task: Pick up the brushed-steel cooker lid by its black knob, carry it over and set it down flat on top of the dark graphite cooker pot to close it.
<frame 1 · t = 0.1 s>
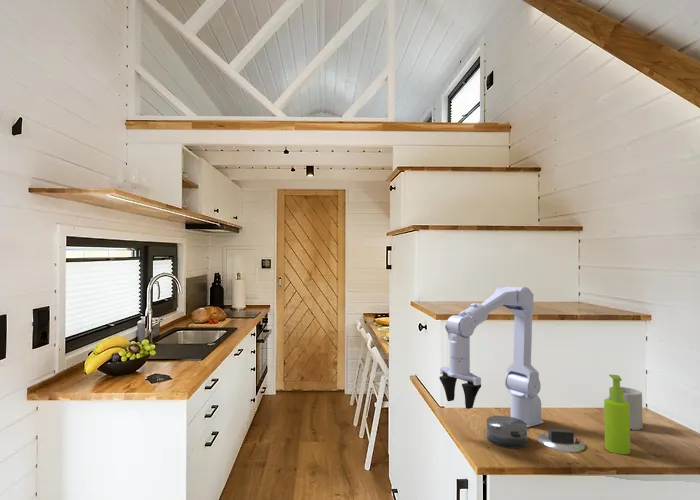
hand: (459, 404, 123), 10 cm above the table, tool pointing down, fingers open, 7 cm apart
soap dispenser: (616, 449, 117), on the table
cooker lid: (561, 444, 121), on the table
mug: (621, 426, 135), on the table
cooker pot: (506, 439, 123), on the table
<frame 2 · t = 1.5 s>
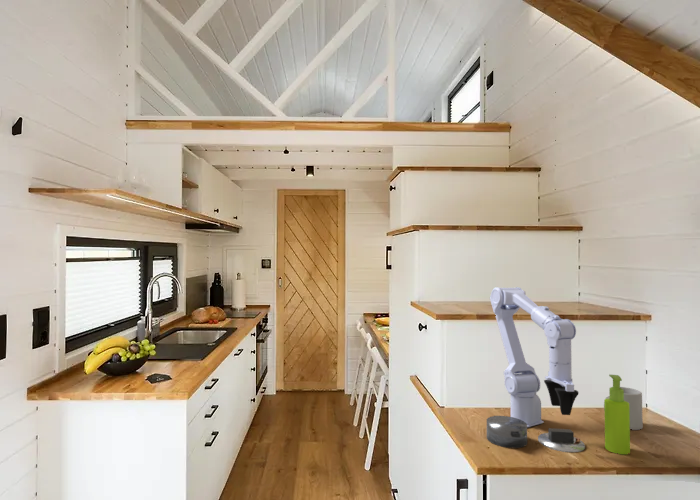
hand: (560, 410, 121), 9 cm above the table, tool pointing down, fingers open, 7 cm apart
nothing on the table moved.
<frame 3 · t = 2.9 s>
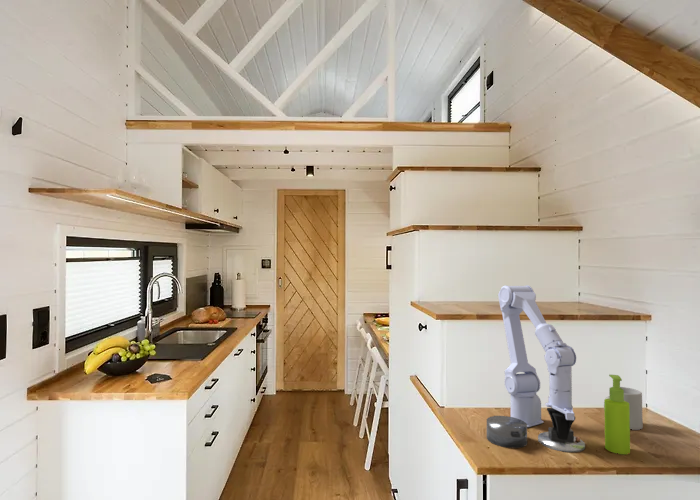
hand: (560, 436, 121), 2 cm above the table, tool pointing down, fingers closed on cooker lid, 2 cm apart
cooker lid: (561, 443, 121), on the table, touching gripper
everything else where it was.
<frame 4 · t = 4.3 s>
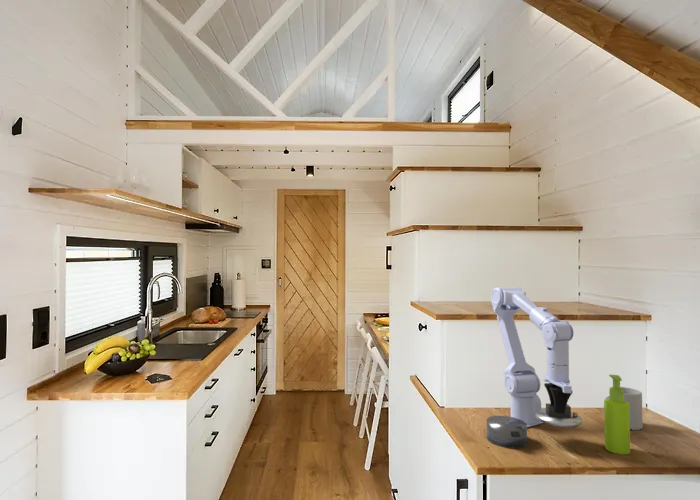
hand: (558, 411, 121), 9 cm above the table, tool pointing down, fingers closed on cooker lid, 2 cm apart
cooker lid: (558, 419, 121), point 7 cm above the table, touching gripper
everything else where it was.
when the fingers open (8 cm above the table, at t = 5.9 s): cooker lid stays where it is, resting on cooker pot.
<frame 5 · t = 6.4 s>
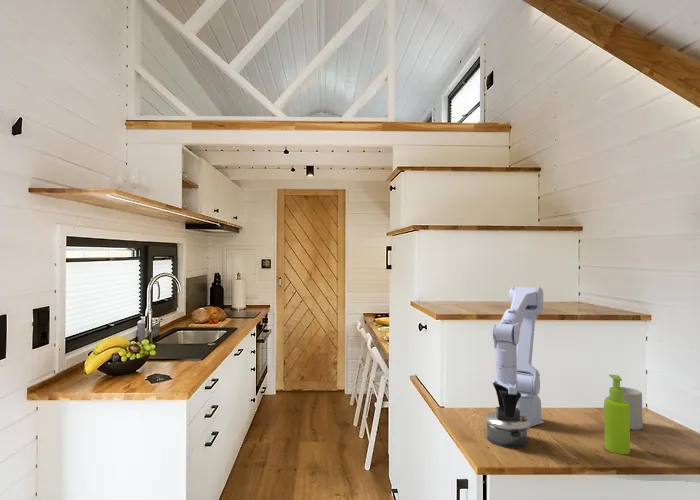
hand: (506, 412, 123), 8 cm above the table, tool pointing down, fingers open, 6 cm apart
cooker lid: (507, 422, 123), point 5 cm above the table, touching cooker pot
everything else where it was.
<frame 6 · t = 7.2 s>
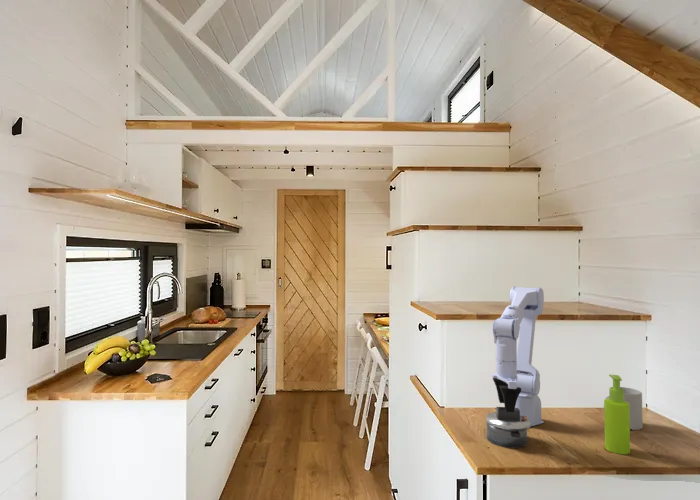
hand: (506, 407, 123), 9 cm above the table, tool pointing down, fingers open, 7 cm apart
nothing on the table moved.
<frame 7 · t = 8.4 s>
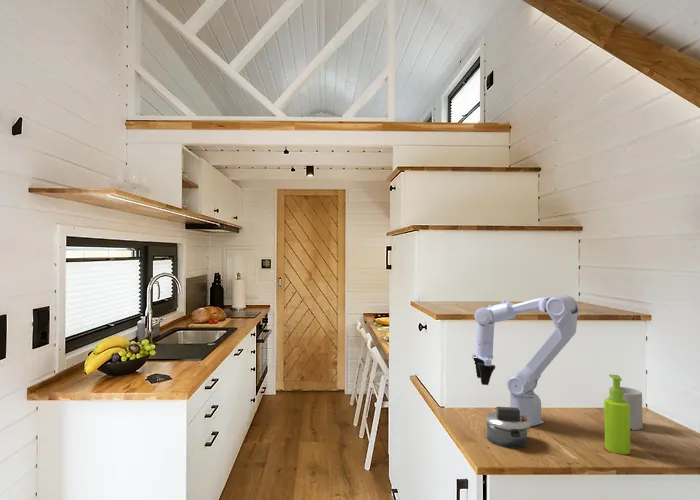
hand: (482, 381, 147), 11 cm above the table, tool pointing down, fingers open, 7 cm apart
nothing on the table moved.
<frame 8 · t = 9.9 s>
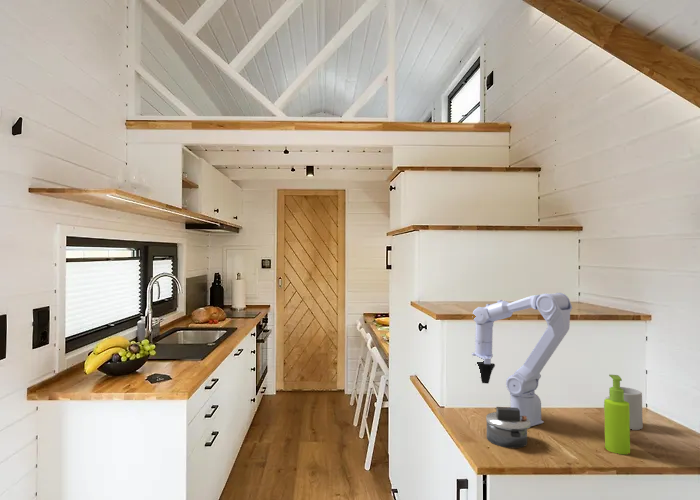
hand: (483, 379, 149), 10 cm above the table, tool pointing down, fingers open, 7 cm apart
nothing on the table moved.
at the end: cooker lid 0.4 cm off-centre on the cooker pot, point 5.0 cm above the cooker pot's base; cooker lid tilted 0°; the gripper is holding nothing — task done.
